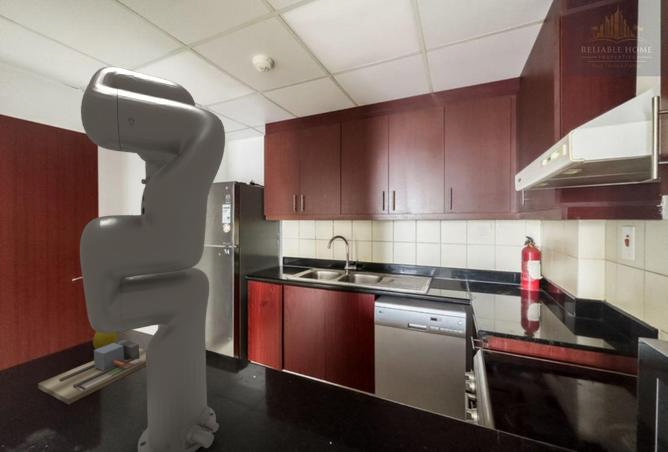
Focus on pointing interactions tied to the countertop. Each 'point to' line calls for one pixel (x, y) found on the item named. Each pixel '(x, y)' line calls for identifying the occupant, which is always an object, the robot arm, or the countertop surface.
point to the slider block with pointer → (109, 356)
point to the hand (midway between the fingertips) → (163, 247)
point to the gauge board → (93, 375)
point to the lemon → (104, 339)
